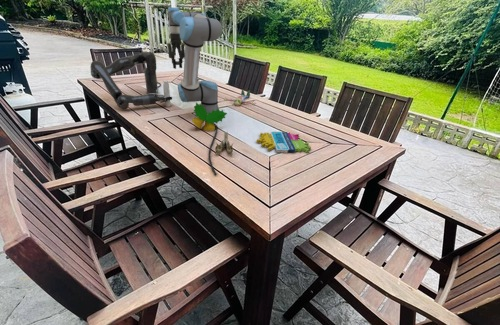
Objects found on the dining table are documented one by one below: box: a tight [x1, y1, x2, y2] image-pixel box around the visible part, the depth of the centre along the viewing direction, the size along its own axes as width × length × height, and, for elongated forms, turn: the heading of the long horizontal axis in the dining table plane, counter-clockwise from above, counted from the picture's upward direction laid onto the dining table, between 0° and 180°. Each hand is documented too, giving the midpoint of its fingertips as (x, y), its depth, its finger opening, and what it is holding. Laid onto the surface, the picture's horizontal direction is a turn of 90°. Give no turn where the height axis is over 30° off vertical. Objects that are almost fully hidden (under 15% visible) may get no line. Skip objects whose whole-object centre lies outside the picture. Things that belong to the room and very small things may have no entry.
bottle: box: [162, 80, 172, 107], centre depth 195 cm, size 4×4×18 cm
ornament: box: [191, 101, 228, 132], centre depth 162 cm, size 21×8×15 cm, turn 105°
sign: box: [256, 131, 312, 154], centre depth 152 cm, size 26×2×30 cm
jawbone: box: [214, 131, 234, 156], centre depth 136 cm, size 9×15×10 cm
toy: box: [223, 89, 257, 106], centre depth 219 cm, size 28×7×30 cm
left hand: (170, 97), depth 198 cm, fingers closed on bottle, 4 cm apart
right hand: (177, 68), depth 193 cm, fingers closed on lid, 4 cm apart
